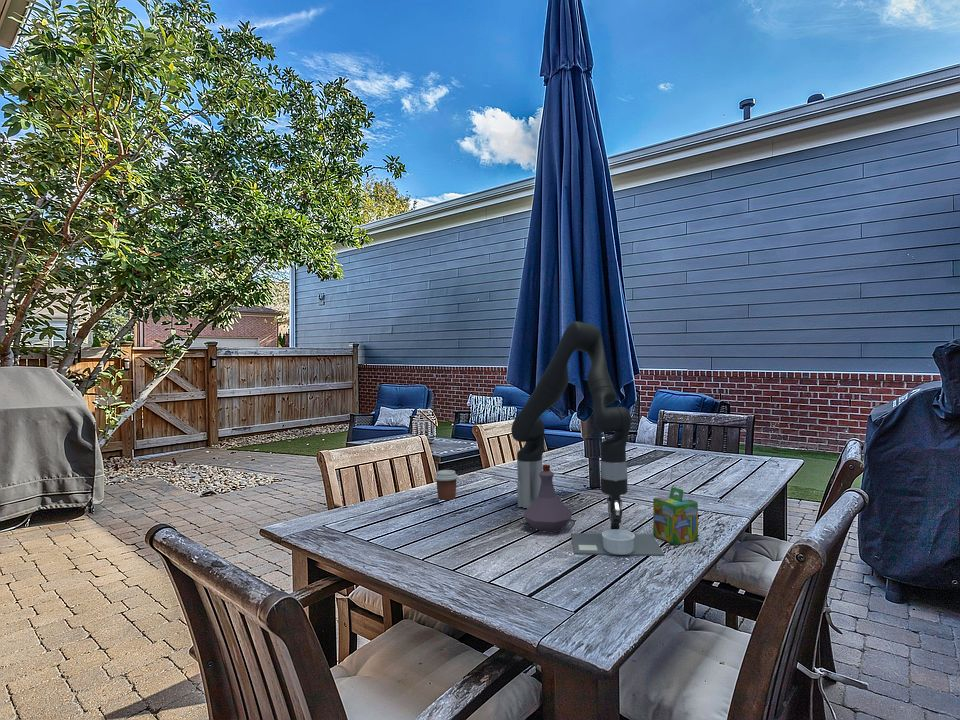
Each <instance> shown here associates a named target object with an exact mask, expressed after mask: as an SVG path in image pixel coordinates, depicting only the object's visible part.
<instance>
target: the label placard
mask: <svg viewBox="0 0 960 720" xmlns="http://www.w3.org/2000/svg"><path fill="white" fill-rule="evenodd" d="M633 534H634V535H635V538H634V549H633V552H631V553H629V554H625V555H624V556H642V557H643V556H646V557H647V556H652V557H656V556H657V557H665V555H666V554H665V553H664V552H663V550H662V548H661V547H660V545H659V543H658V542H657V539H656V538H655V536H653V533H652V534H651V533H650V534H649V533H648V534H646V533H633ZM570 535H571V542H572V548H573V553H574V555H595V556H596V555H601V556H602V555H604V556H605V555H606V556H608V555H609V556H619V555H618V554H612V553H609V552H607V551H606V550H605V549H604V545H603V537H602V533H597V532H596V533H593V532H591V533H587V532H586V533H584V532H580V533H579V532H571V533H570Z"/></svg>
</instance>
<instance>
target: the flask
mask: <svg viewBox="0 0 960 720" xmlns="http://www.w3.org/2000/svg"><path fill="white" fill-rule="evenodd" d="M554 475H555V472H553V471H552V470H551V465H550V464H542V472H540V473H539V476H540V478H541V486H540V491H539V495H538V497H537V498H536V499H535V501H534V502H533V503H532V504H531V505H530V506H529V507H528V508H527V509H524V510H525V511H524V513H523V515H522V517H523V519H525V521H526V522H527V524H529V525H530V527H531V528H532V529H533V528H535V529H537V530H539V531H538V532H540V531H545V532H544V533H551V532H553V533H556V532H560V531H562V530H563V529H564V527H566V525H567V524H568V523H569V522H570V520H572V516H573V512H572V511H571V509H569V508H568V507H567V506H566V505H565V504H564V503H563V502H562V501H561V500H560V498H559V497H558V495H557V494H556V490H555V487H554V483H553V478H554ZM535 529H534V530H535ZM537 530H536V531H537ZM559 530H560V531H559ZM555 531H556V532H555Z"/></svg>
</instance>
